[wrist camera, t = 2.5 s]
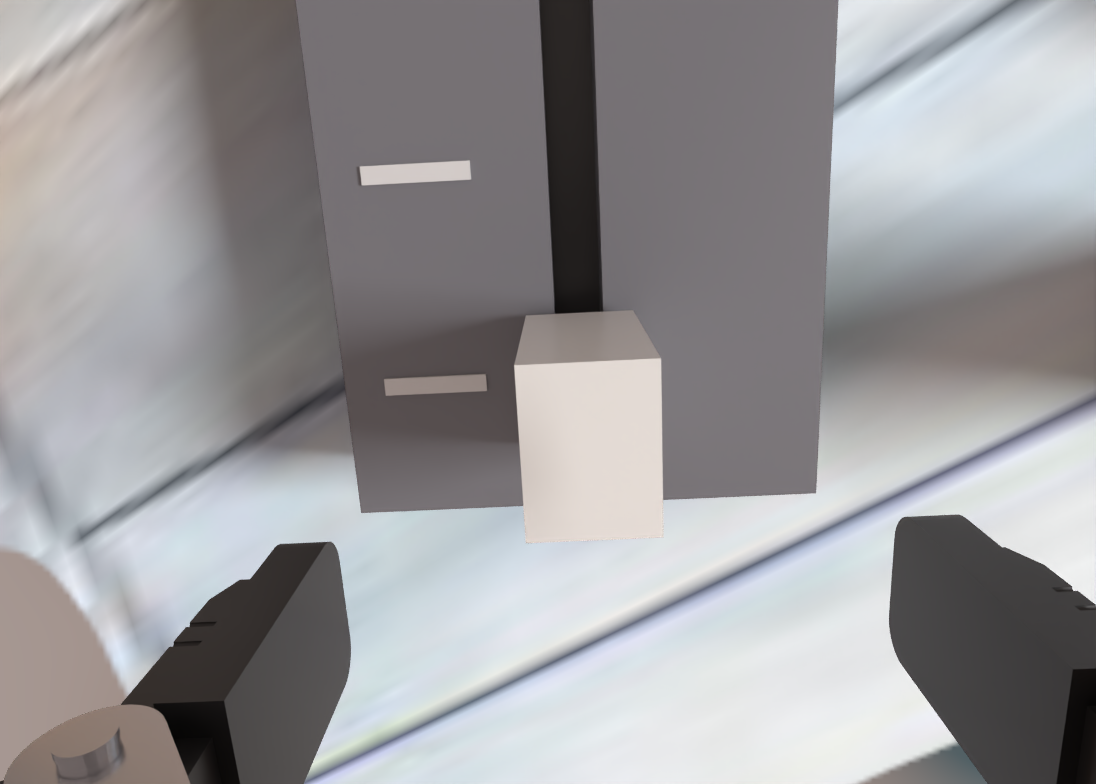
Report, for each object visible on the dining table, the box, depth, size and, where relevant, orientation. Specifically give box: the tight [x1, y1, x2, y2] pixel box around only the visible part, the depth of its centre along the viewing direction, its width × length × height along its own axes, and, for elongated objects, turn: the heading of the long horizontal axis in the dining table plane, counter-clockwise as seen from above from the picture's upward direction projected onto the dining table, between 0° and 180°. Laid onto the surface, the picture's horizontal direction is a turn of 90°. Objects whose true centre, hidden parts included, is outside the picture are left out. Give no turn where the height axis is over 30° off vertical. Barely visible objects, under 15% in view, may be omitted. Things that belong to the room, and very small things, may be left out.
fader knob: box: [514, 310, 663, 543], centre depth 20 cm, size 4×3×8 cm
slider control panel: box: [296, 0, 838, 513], centre depth 23 cm, size 23×14×5 cm, turn 3°
